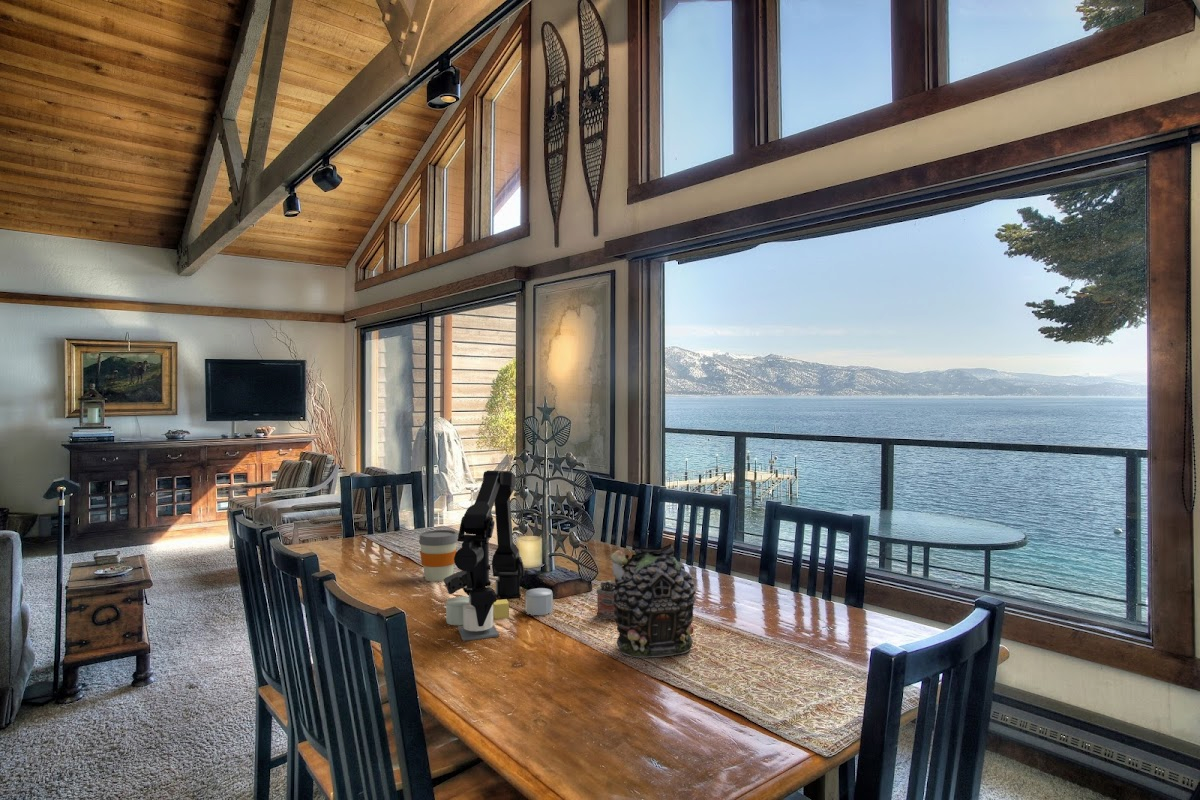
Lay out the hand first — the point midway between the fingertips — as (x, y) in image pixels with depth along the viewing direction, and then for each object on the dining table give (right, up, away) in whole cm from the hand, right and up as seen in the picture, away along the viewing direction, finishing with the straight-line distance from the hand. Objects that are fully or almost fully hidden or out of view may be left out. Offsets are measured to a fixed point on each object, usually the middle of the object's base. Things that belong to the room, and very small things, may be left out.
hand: (478, 621), depth 170 cm
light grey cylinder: (+14, -3, +17) cm, 22 cm away
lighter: (+34, -3, +11) cm, 36 cm away
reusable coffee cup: (-23, -3, +52) cm, 57 cm away
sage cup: (-7, -3, +9) cm, 12 cm away
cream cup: (0, -1, 0) cm, 1 cm away
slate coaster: (0, -3, 0) cm, 3 cm away
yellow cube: (+4, -3, +13) cm, 14 cm away
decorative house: (+44, -3, -12) cm, 46 cm away
